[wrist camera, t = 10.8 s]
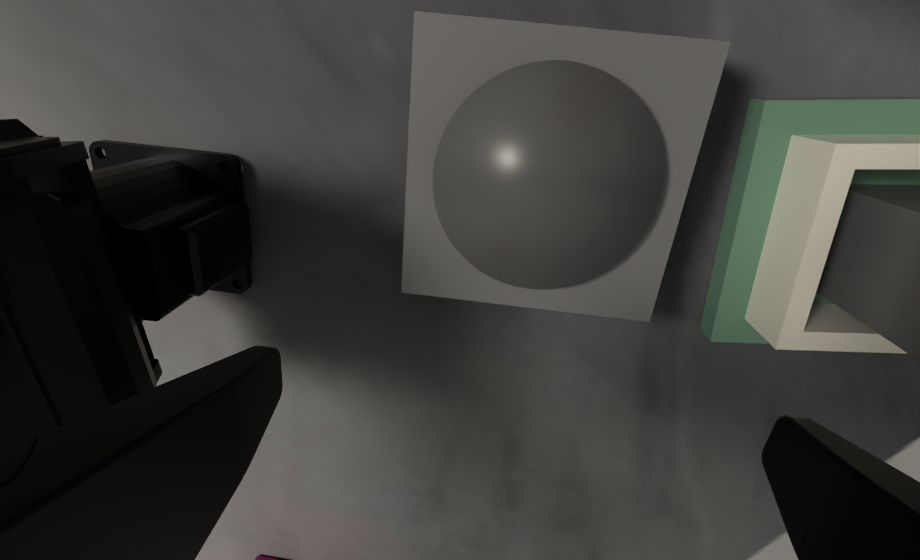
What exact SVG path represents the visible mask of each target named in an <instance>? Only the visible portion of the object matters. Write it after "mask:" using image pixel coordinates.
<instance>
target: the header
mask: <svg viewBox="0 0 920 560" xmlns="http://www.w3.org/2000/svg"><path fill="white" fill-rule="evenodd" d="M850 184H899V185H920V97H899V98H789V99H749V102H748V107H747V112H746V116H745V121H744V126H743V130H742V135H741V139H740V144H739V149H738V153H737V158H736V162H735V167H734V172H733V176H732V181H731V186H730V190H729V195H728V199H727V204H726V209H725V213H724V218H723V223H722V227H721V232H720V236H719V241H718V246H717V250H716V255H715V260H714V264H713V269H712V273H711V278H710V283H709V287H708V292H707V297H706V301H705V306H704V310H703V315H702V320H701V324H700V330H701V331H702V332H703V334H704V335H705V336H706V338H707V339H708V340H709V341H710V342H727V343H760V344H771V345H772V346H773V347H774V348H775V349H776V350H807V351H840V352H872V353H904V354H908V353H906V352H905V351H903V350H902V349H900V348H899V347H898V346H896V345H895V344H893V343H892V342H890V341H889V340H887V339H886V338H884V337H883V336H881V335H880V334H878V333H877V332H875V331H874V330H872V329H871V328H870V327H868V326H867V325H865V324H864V323H862V322H861V321H859V320H858V319H856V318H855V317H853V316H852V315H850V314H849V313H847V312H846V311H844V310H843V309H842V308H840V307H839V306H837V305H836V304H834V303H833V302H831V301H830V300H828V299H827V298H825V297H824V296H822V295H821V294H819V293H818V292H816V291H817V288H818V285H819V281H820V278H821V275H822V272H823V269H824V266H825V262H826V259H827V256H828V253H829V250H830V247H831V243H832V240H833V237H834V234H835V231H836V228H837V225H838V221H839V218H840V215H841V212H842V209H843V206H844V202H845V199H846V196H847V193H848V190H849V187H850Z"/></svg>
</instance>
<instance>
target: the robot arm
mask: <svg viewBox="0 0 920 560" xmlns="http://www.w3.org/2000/svg"><path fill="white" fill-rule="evenodd" d="M102 148H103V149H104V150H105V152H106V156H105V155H104V154H103V152H102ZM89 152H90V157H91V162H92V166H93V170H91V171H89V168H88V165H87V162H86V159H89V156H88V153H87V151H86V148H85V145H84V142H83V141H68V142H60V139H59V137H43V135H42V136H38V135H37V134H36V133H35V132H33V131H32V130H31V129H29V128H28V127H27V126H26V125H24V124H23V123H22V122H20V121H19V120H18V119H1V120H0V560H195V558H196V557H197V555H198V553H199V552H200V550H201V548H202V546H203V545H204V543H205V541H206V540H207V538H208V536H209V535H210V533H211V531H212V530H213V528H214V526H215V524H216V523H217V521H218V519H219V518H220V516H221V514H222V513H223V511H224V509H225V508H226V506H227V504H228V502H229V501H230V499H231V497H232V496H233V494H234V492H235V491H236V489H237V487H238V486H239V484H240V482H241V480H242V479H243V477H244V475H245V473H246V471H247V469H248V467H249V465H250V463H251V461H252V459H253V457H254V455H255V452H256V450H257V448H258V446H259V444H260V441H261V439H262V437H263V435H264V433H265V430H266V428H267V426H268V424H269V421H270V419H271V417H272V415H273V413H274V410H275V408H276V406H277V404H278V402H279V399H280V397H281V393H282V371H281V357H280V353H279V351H278V350H277V349H276V348H272V347H264V346H253V347H251V348H248V349H246V350H244V351H241V352H239V353H236V354H234V355H231V356H229V357H227V358H224V359H222V360H219V361H217V362H215V363H212V364H210V365H207V366H205V367H203V368H200V369H198V370H195V371H193V372H190V373H188V374H186V375H183V376H181V377H178V378H176V379H174V380H171V381H169V382H166V383H164V384H161V385H159V386H157V387H156V383H157V382H158V380H159V378H160V376H161V374H162V369H161V367H160V364H159V361H158V360H157V359H154V356H153V353H152V350H151V347H150V344H149V341H148V338H147V336H146V333H145V330H144V327H143V324H142V321H144V320H150V321H159V320H160V319H162V318H163V317H165V316H166V315H168V314H169V313H170V312H172V311H173V310H175V309H176V308H177V307H179V306H180V305H182V304H183V303H184V302H186V301H187V300H189V299H190V298H191V297H193V296H201V295H202V294H204V293H205V292H207V291H208V290H214V291H222V292H230V293H238V294H239V293H244V292H246V291H247V290H248V289H249V288H250V287H251V285H252V278H251V268H250V259H251V258H252V245H251V234H250V223H249V212H248V207H247V205H246V204H245V203H244V193H243V183H242V172H241V165H240V162H239V160H238V159H237V158H236V157H235V156H234V155H231V154H227V153H218V152H209V151H200V150H191V149H182V148H172V147H163V146H154V145H145V144H136V143H127V142H118V141H109V140H102V141H95V142H93V143H91V145H90V147H89ZM225 161H226V162H228V163H229V164H230V167H231V169H230V171H228V170H227V169H226V168H225V166H224V162H225ZM237 279H238V280H240V281H241V282H242V284H243V286H242V285H239V284H238V283H237ZM762 463H763V467H764V469H765V472H766V475H767V478H768V480H769V483H770V486H771V489H772V491H773V494H774V497H775V499H776V502H777V505H778V508H779V510H780V513H781V516H782V519H783V521H784V524H785V527H786V530H787V532H788V535H789V537H790V540H791V543H792V545H793V548H794V550H795V552H796V555H797V557H798V559H799V560H920V482H918V481H916V480H915V479H913V478H911V477H910V476H908V475H906V474H904V473H903V472H901V471H899V470H897V469H896V468H894V467H892V466H891V465H889V464H887V463H885V462H884V461H882V460H880V459H878V458H877V457H875V456H873V455H871V454H870V453H868V452H866V451H864V450H863V449H861V448H859V447H858V446H856V445H854V444H852V443H851V442H849V441H847V440H845V439H844V438H842V437H840V436H838V435H837V434H835V433H833V432H832V431H830V430H828V429H826V428H825V427H823V426H821V425H819V424H818V423H816V422H814V421H812V420H810V419H808V418H804V417H796V416H789V415H784V416H781V417H779V418H778V419H777V421H776V422H775V425H774V427H773V429H772V431H771V433H770V435H769V437H768V440H767V442H766V444H765V446H764V448H763V452H762Z"/></svg>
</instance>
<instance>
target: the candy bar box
mask: <svg viewBox="0 0 920 560" xmlns="http://www.w3.org/2000/svg"><path fill="white" fill-rule="evenodd" d="M255 560H281V559H276V558H270V557H265V556H257V557H256V559H255Z"/></svg>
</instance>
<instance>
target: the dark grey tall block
mask: <svg viewBox="0 0 920 560" xmlns="http://www.w3.org/2000/svg"><path fill="white" fill-rule="evenodd" d="M816 292H818V293H819V294H821V295H822V296H824V297H825V298H827V299H828V300H830V301H831V302H833V303H834V304H836V305H837V306H839V307H840V308H842V309H843V310H844V311H846V312H847V313H849V314H850V315H852V316H853V317H855V318H856V319H858V320H859V321H861V322H862V323H864V324H865V325H867V326H868V327H870V328H871V329H872V330H874V331H875V332H877V333H878V334H880V335H881V336H883V337H884V338H886V339H887V340H889V341H890V342H892V343H893V344H895V345H896V346H898V347H899V348H900V349H902V350H903V351H905V352H906V353H908V354H909V355H911V356H912V357H914V358H915V359H917V360H918V361H920V185H899V184H850V187H849V190H848V193H847V196H846V199H845V202H844V206H843V209H842V212H841V215H840V218H839V221H838V225H837V228H836V231H835V234H834V237H833V240H832V243H831V247H830V250H829V253H828V256H827V259H826V262H825V266H824V269H823V272H822V275H821V278H820V281H819V285H818V288H817V291H816Z"/></svg>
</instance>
